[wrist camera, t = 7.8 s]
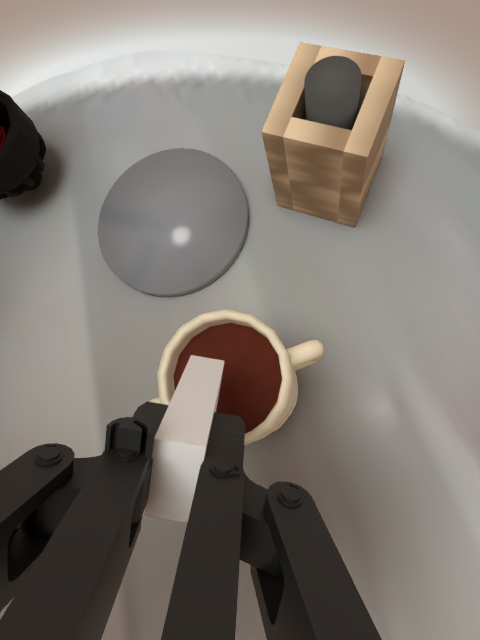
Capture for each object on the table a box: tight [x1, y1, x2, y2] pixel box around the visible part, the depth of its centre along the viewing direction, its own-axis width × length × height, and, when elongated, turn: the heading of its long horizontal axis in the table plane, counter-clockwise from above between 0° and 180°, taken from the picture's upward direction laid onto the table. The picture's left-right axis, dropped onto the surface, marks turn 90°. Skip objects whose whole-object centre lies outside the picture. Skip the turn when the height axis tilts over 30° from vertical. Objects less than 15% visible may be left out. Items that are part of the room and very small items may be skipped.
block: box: [262, 42, 405, 227], centre depth 31 cm, size 7×7×10 cm
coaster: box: [98, 148, 249, 297], centre depth 37 cm, size 14×14×1 cm
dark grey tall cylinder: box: [304, 56, 362, 130], centre depth 30 cm, size 3×3×10 cm
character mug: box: [149, 309, 324, 446], centre depth 27 cm, size 11×7×13 cm, turn 109°
